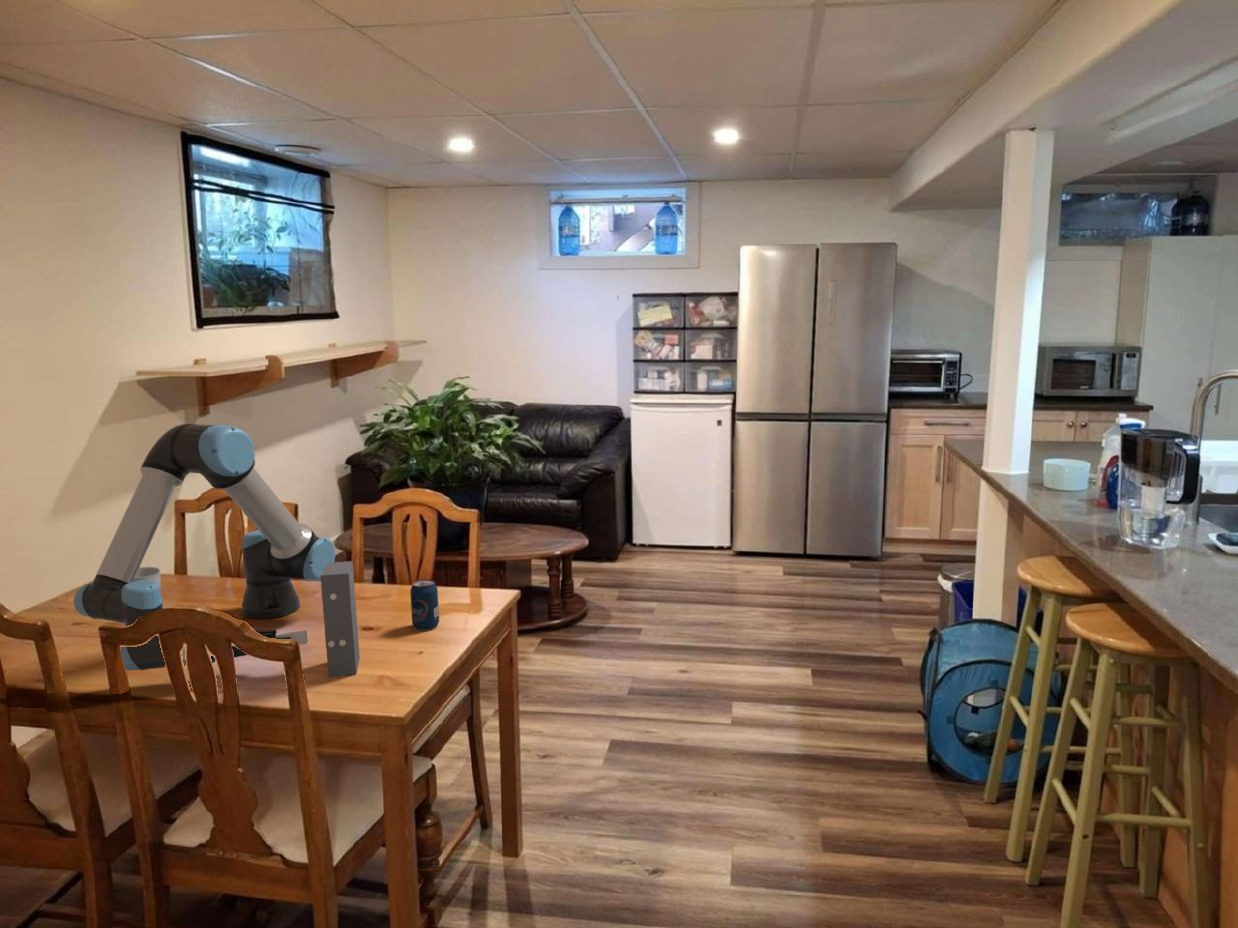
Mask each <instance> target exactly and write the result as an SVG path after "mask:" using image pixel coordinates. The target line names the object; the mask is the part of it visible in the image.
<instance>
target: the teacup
mask: <svg viewBox="0 0 1238 928" xmlns="http://www.w3.org/2000/svg"><path fill="white" fill-rule="evenodd" d="M161 572H162V571H161V569H160V568H159V567H154V566H140V567H139V569H138V571H137V573H136V576H135V578H134V580H133V582H136V581H143V580H144V581H147V580H151V581H155V582H157V583H158V584H159V586H160V588H161V581H162V579H161Z"/></svg>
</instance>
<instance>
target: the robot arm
mask: <svg viewBox="0 0 1238 928" xmlns="http://www.w3.org/2000/svg"><path fill="white" fill-rule="evenodd" d="M254 449H255V445H254V443H253V441H252V439H251V437H250V436H249V435H248V433H247V432H245V431H244V430H242V429H241V428H238V427H235V426H231V425H228V424H194V423H183V424H179V425H176V426H173V427H172V428H170V429H168V430H167V431H166V432H165V433H164V434H163V435H161V436H160V437H159V438H158V439H157V440H156V442H155V443H154V444H153V446H152V447H151V448H150V450H149V451H148V453H147V455H146V456H145V458H144V461H143V463H142V464H141V467H140V469H139V470H140V474H141V475H142V476H141V478H140V480H139V482H138V484H137V487H136V489H135V491H134V493H133V495H132V497H131V499H130V501H129V504H128V506H127V508H126V510H125V512H124V514H123V516H122V518H121V521H120V522H119V525H118V527H117V529H116V531H115V534H114V536H113V538H112V540H111V542H110V544H109V546H108V548H107V550H106V553H105V555H104V557H103V560H102V562H101V563H100V565H99V568H98V570H97V572H96V574H95V577H94V579H93V581H92V582H91V583H87V584H83V585H82V586H81V587H80V588H79V589H78V590H77V591H76V593H75V595H74V598H73V605H74V608H75V610H76V611H77V612H78V613H79V614H80V615H82V616H85V617H88V618H91V619H93V620H103V621H110V622H115V623H120V624H124V626H128V625H131V624H133V623H134V622H135V621H136V619H138V618H139V617H141V616H144V615H147V614H149V613H151V612H154V611H158V610H162V609H163V610H164V607H163V606H164V605H163V596H162V593H161V587H160V586H159V584H158V583H157V582H155V581H151V580H147V581H144V580H143V581H136V582H133V580H134V578H135V576H136V573H137V571H138V569H139V567H141V565H142V562H143V559H144V557H145V555H146V553H147V551H148V550H149V547H150V544H151V542H152V541H153V539H154V535H155V533H156V531H157V529H158V526H159V524H160V522H161V520H162V519H163V516H164V513H165V511H166V508H167V507H168V505H169V503H170V500H171V498H172V496H173V494H174V492H175V489H176V487H179V486H182V485H183V483H184V481H185V478H186V476H188V475H189V474H190V473H192V474H200V475H201V476H203V478H204V479H205V480H206V481H207V482H208V483H209V484H210V486H212V487H213V489H215V490H224V491H225V493H227V495H228V496H229V497H230V498H231V500H232V501H233V502H234V503H235V504H236V506H238V507H239V509H240V510H241V511H242V513H244V514H245V516H246V517H247V518H248V520H250V522H251V523H253V525H254V526H255V527H256V528H257V529H255V530H253V531H250V532H247V533H245V534H244V535H243V537H242V539H241V540H242V548H241V550H242V557H243V566H244V567H243V568H244V575H245V585H246V587H245V590H244V594H243V598H242V599H243V600H242V603H241V615H242V616H243V617H245V618H246V619H247V618H248V619H255V620H263V619H265V620H266V619H274V618H279V617H284V616H286V615H291V614H293V613H295V612H296V611H298V610H300V607H301V602H300V597H299V595H298V594H297V591H296V589H295V586H294V584H293V581H292V579H294V580H295V579H296V580H303V581H306V582H312V581H313V582H319V581H321V573H322V571H323V569H324V566H325V564H326V563H335V560H336V559H335V558H336V548H335V545H334V543H333V542H332V540H330V539H328V538H326V537H319V536H318V535H317V534H316V533H315V532H314V531H313V530H312V528H311V527H310V526H309V525H308V524H306V523H299V521H297V519H296V518H295V517H294V516H293V514H292V512H290V511H289V509H288V508H287V507H286V505H284V503H283V502H282V501H281V499H280V498H279V497H278V496H277V494H276V493H275V492H274V491H273V490H272V489H271V486H270V485H268V484H267V482H266V481H265V479H264V478H263V477H262V476H261V475H260V473H259V472H258V470H256V469H255V466H256V460H255V458H256V457H255V456H256V452H255V451H254ZM254 630H255V631H256V632H258V633H260V634H261V635H263V636H266V637H268V638H276V639H292V640H296V641H297V642H298V643H299V645H307V644H308V635H307V632H308V631H307V630H298V631H287V632H277V629H262V630H261V629H260V630H259V629H257V630H256V629H254ZM299 645H298V646H299ZM232 649H233V652H234V658H238V657H244V656H248V655H247V654H245V653H244V652H242V651H241V650H239V649H237V648H236V647H235V646H232ZM121 654H122V658H123V662H124V666H125V669H126V671H128V672H129V671H146V670H154V669H155V670H156V669H162V668H163V669H164V668H166V667H165V662H164V658H163V655H162V652H161V648H160V644H159V638H158V636H155V637H153V638H152V639H151V640H150V641H148V643H146V644H144V645H141V646H137V647H121ZM182 656H183V663H184V666H185V665H186V660H185V649H183V654H182ZM211 659H212V663H211V664H214V663H215V662H216V660H215V658H214V657H213V656H211ZM186 666H187V665H186Z"/></svg>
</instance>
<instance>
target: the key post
mask: <svg viewBox="0 0 1238 928" xmlns="http://www.w3.org/2000/svg"><path fill="white" fill-rule="evenodd" d="M354 575H355V573H354V564H353V561H352V560H350V561H337V562H335V561H334V563H326V564H325V566H324V569H323V571H322V573H321V580H320V586H321V587H320V588H322V591H321V599H322V600H323V602H322V609H323V610H322V611H323V624H324V637H325V638H326V641H325V649H326V659H327V660H326V662H327V672H328V673H327V674H328V675H327V676H328V678H337V677H347V676H348V677H349V676H356V675H357V673H358V667H359V663H360V644H359V643H360V642H359V631H358V629H359V628H358V618H357V617H358V615H357V603H356V589H355V576H354ZM325 638H324V639H325Z"/></svg>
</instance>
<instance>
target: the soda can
mask: <svg viewBox="0 0 1238 928" xmlns="http://www.w3.org/2000/svg"><path fill="white" fill-rule="evenodd" d="M411 585H412V586H411V588H410V590H409V592H410V607H411V611H410V612H411V622H412V623H411V624H412V625H413V627H414V628H415V630H417V631H422V632H423V631H425V630H426V631H430V630H434V629H436V628H437V627H438V625H439V623H440V609H439V608H440V607H439V594H438V593H439V592H438V587H437V584H436V582H435V580H433V579H418V580H415V581H413V582H412V584H411Z"/></svg>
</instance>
